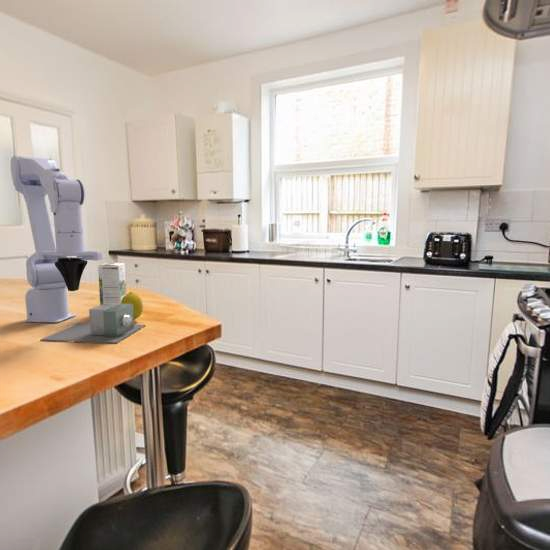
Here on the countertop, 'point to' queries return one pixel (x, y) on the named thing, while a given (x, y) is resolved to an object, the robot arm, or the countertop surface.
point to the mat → (86, 334)
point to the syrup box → (112, 283)
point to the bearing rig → (118, 320)
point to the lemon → (134, 300)
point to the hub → (98, 318)
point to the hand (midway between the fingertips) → (73, 290)
